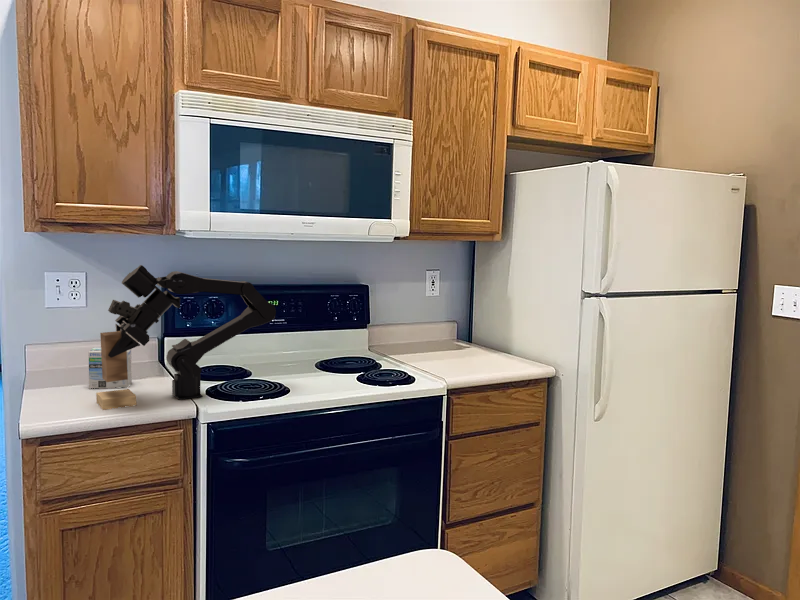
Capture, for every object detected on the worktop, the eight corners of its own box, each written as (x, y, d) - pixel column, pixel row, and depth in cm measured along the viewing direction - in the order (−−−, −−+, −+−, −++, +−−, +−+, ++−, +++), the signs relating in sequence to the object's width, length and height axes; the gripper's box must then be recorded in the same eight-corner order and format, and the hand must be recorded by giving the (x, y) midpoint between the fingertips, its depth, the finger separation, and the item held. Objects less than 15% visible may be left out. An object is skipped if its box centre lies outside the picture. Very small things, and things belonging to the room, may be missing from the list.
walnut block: (122, 375, 170) (120, 330, 168) (127, 379, 166) (125, 333, 164) (102, 378, 167) (100, 332, 166) (107, 382, 163) (104, 335, 162)
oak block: (128, 399, 173) (128, 388, 172) (136, 406, 166) (136, 395, 166) (96, 403, 168) (96, 392, 168) (102, 411, 162) (102, 399, 161)
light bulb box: (88, 389, 181) (87, 351, 180) (92, 383, 187) (92, 347, 186) (129, 388, 184) (128, 350, 182) (132, 382, 190) (131, 346, 189)
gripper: (122, 285, 174) (79, 328, 169) (133, 292, 158) (85, 340, 153) (154, 312, 178) (112, 355, 174) (168, 321, 163) (122, 369, 158)
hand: (108, 354), depth 165 cm, fingers closed on walnut block, 5 cm apart
